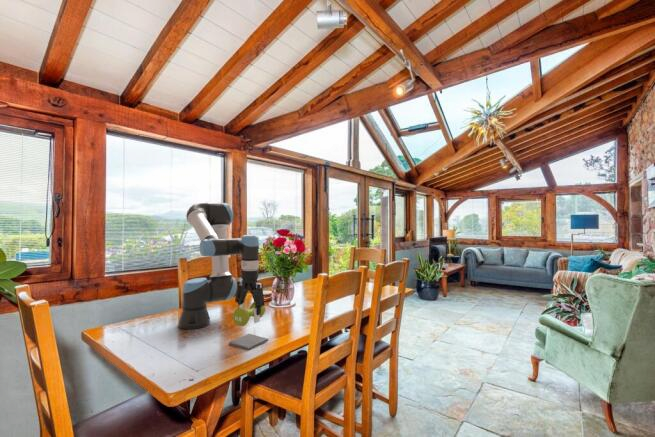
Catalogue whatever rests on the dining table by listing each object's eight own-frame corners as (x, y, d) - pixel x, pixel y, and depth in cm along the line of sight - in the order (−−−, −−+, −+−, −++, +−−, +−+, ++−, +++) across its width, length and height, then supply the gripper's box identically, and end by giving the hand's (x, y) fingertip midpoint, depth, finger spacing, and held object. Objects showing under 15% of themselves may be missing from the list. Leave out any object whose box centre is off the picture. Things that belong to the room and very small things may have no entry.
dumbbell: (245, 328, 132) (245, 310, 132) (230, 325, 135) (230, 308, 135) (267, 317, 147) (267, 301, 147) (252, 314, 150) (252, 299, 150)
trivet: (229, 344, 139) (229, 341, 139) (248, 335, 149) (248, 333, 149) (248, 350, 133) (248, 347, 133) (268, 340, 143) (268, 338, 143)
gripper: (226, 268, 143) (226, 318, 143) (261, 272, 132) (261, 327, 132) (239, 266, 150) (238, 314, 149) (273, 270, 139) (273, 322, 138)
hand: (249, 320), depth 141 cm, fingers closed on dumbbell, 8 cm apart
